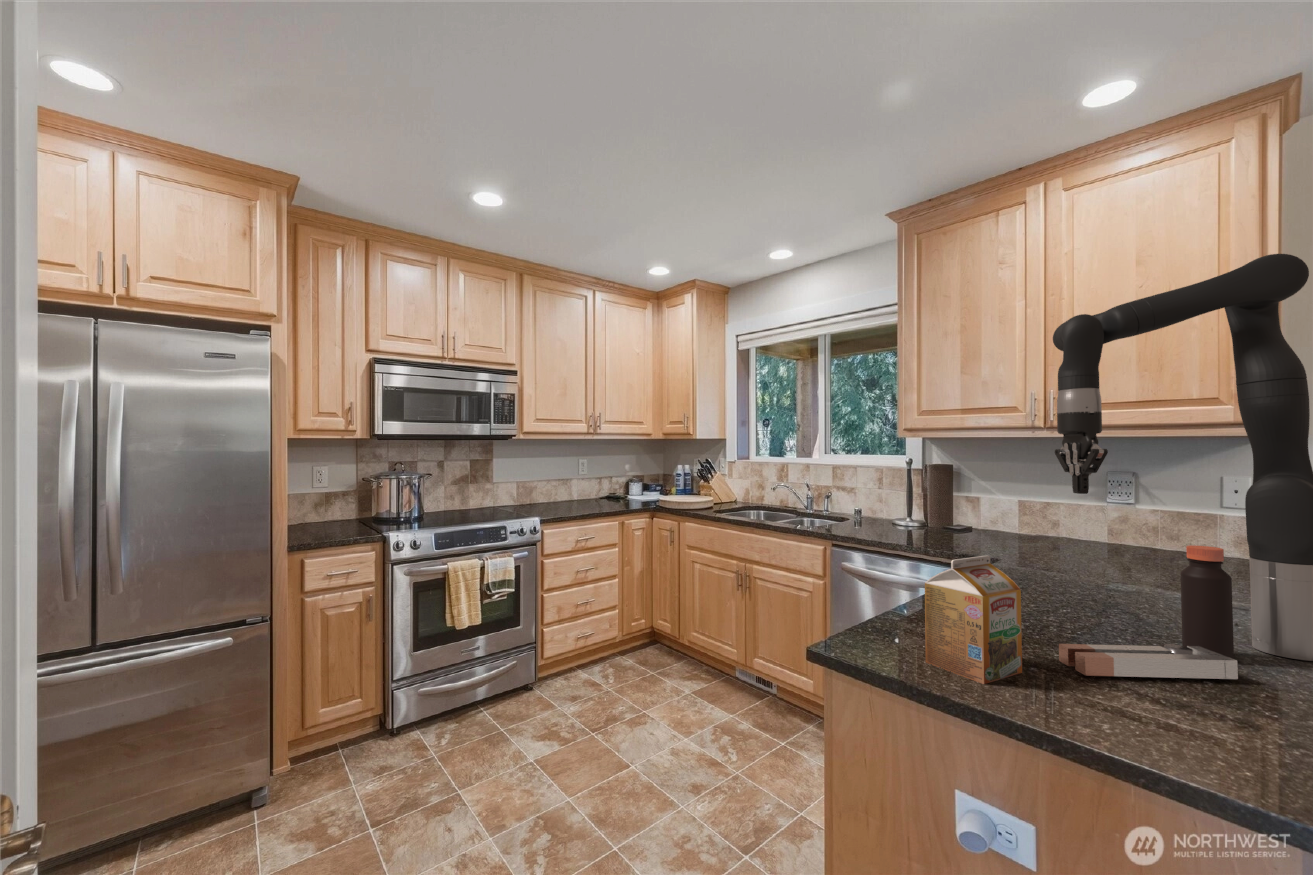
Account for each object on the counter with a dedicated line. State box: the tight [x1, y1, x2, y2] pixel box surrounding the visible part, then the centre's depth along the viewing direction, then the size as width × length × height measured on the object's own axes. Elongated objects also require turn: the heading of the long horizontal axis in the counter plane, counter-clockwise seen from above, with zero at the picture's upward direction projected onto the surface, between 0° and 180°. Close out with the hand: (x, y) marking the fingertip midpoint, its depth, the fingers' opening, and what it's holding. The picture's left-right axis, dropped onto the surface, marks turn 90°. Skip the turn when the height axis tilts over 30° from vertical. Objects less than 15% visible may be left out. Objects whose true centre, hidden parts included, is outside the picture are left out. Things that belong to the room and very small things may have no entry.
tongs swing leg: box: [1058, 643, 1193, 667], centre depth 96 cm, size 21×4×3 cm, turn 86°
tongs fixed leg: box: [1074, 646, 1239, 680], centre depth 94 cm, size 24×7×3 cm, turn 87°
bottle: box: [1179, 544, 1235, 659], centre depth 102 cm, size 7×7×20 cm
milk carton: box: [924, 555, 1023, 685], centre depth 97 cm, size 11×11×19 cm
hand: (1080, 493), depth 117 cm, fingers closed
